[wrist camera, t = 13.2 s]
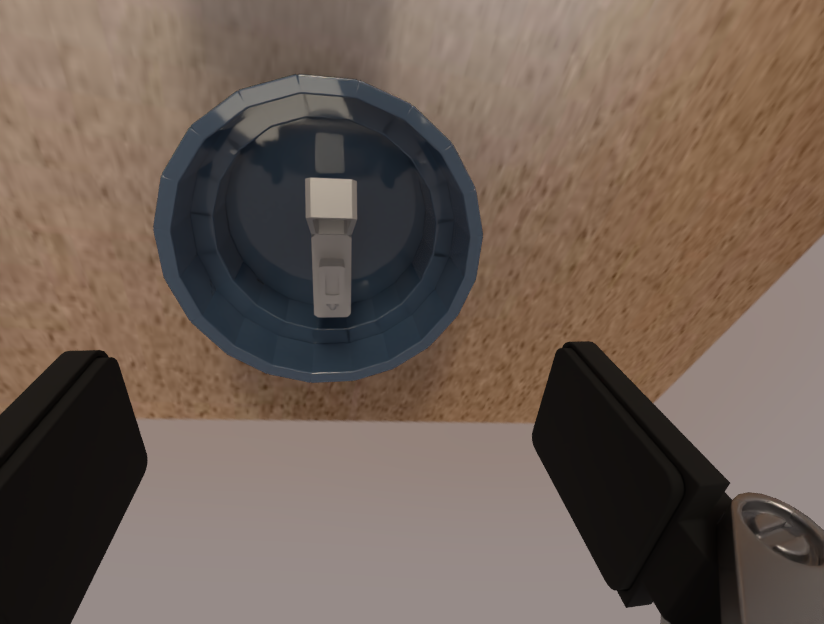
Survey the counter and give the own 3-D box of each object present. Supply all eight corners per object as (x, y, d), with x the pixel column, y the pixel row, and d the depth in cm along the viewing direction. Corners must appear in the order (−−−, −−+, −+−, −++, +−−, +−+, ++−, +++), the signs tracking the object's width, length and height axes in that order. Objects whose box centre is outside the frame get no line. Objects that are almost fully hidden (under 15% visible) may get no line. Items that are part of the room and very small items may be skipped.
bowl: (462, 90, 21) (507, 92, 16) (434, 320, 27) (460, 376, 22) (175, 64, 18) (114, 56, 13) (217, 324, 24) (187, 389, 19)
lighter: (347, 281, 24) (355, 360, 17) (316, 281, 24) (311, 362, 17) (347, 150, 21) (358, 182, 14) (311, 148, 20) (303, 180, 13)
